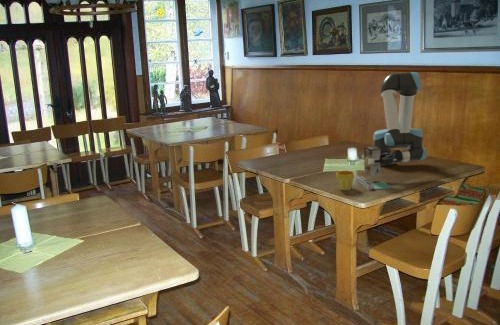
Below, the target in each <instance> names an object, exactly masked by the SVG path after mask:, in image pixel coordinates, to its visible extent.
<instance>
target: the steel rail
mask: <svg viewBox="0 0 500 325" xmlns="http://www.w3.org/2000/svg"><path fill="white" fill-rule="evenodd" d="M356 182H357V183H359V184H360V185H361V186H363V187H364V188H365V189H367V190H368V191H370V190H371V191H372V189H374V184H372V183H373V182H371V181H369V180H368V179H366V178H365V177H363V175H357V176H356ZM374 190H375V189H374Z"/></svg>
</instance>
